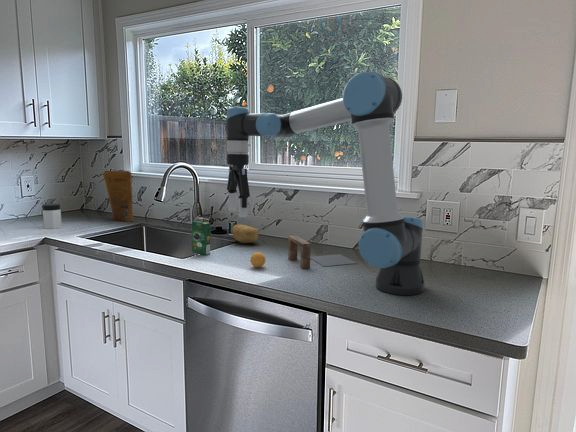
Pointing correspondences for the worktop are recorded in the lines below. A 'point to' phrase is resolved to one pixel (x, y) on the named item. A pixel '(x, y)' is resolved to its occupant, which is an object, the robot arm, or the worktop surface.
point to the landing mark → (332, 260)
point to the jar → (51, 216)
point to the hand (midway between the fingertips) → (237, 213)
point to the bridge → (305, 251)
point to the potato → (245, 233)
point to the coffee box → (201, 237)
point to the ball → (257, 259)
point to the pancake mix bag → (119, 194)
